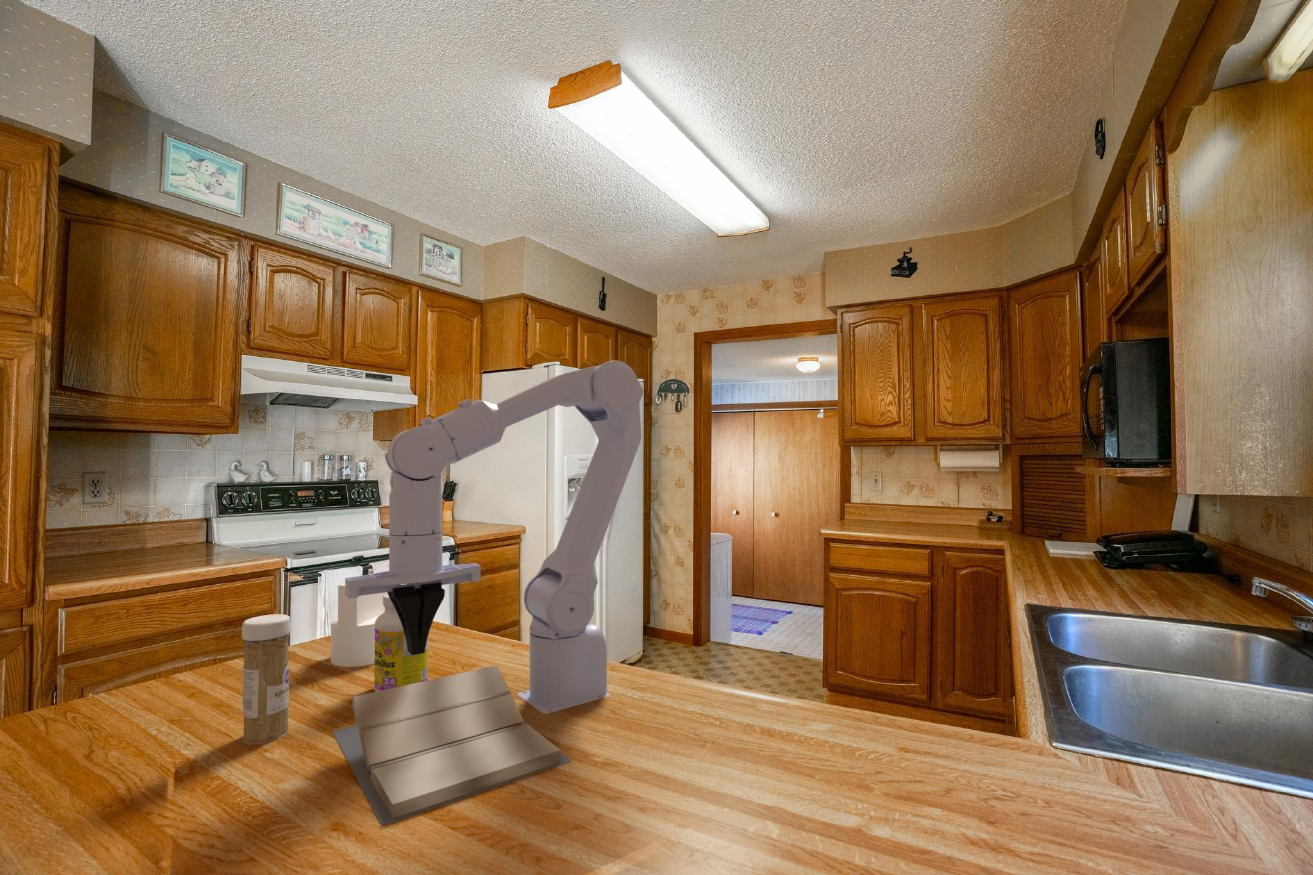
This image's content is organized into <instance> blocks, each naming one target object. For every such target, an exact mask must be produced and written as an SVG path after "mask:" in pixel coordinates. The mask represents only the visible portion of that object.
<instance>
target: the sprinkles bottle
mask: <svg viewBox="0 0 1313 875" xmlns="http://www.w3.org/2000/svg"><path fill="white" fill-rule="evenodd" d="M241 627H242V628H241V638H242V639H243V641H242V643H243V667H242V715H243V737H242V742H243V744H247V745H262V744H267V743H270V742H274V741H277V740H280V739H282V738H283V737H285V736H287V735H288V734H289V732H290V727H289V706H290V674H289V673H290V671H289V670H290V667H289V666H290V665H289V637H290V633H291V617H290V616H289V615H287V614H281V613H279V614H275V613H274V614H266V615H259V616H255V617H251V618H250V617H249V618H247V619H245V620H244V621H242V626H241Z"/></svg>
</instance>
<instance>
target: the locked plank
mask: <svg viewBox="0 0 1313 875" xmlns="http://www.w3.org/2000/svg"><path fill="white" fill-rule="evenodd" d="M560 752H561V749H560V748H558V747H557V746H556V745H555V744H554V743H552V742H551V741H550V740H549V739H547V738H546V737H544V736H543V735H542V734H541V733H540V732H538V731H537V730H536V729H535V728H533V727H532V726H531V725H529V723H528V722H524V723H523V724H519V725H516V726H512V727H509V728H505V729H502V730H498V731H495V732H491V733H488V734H484V735H481V736H477V737H474V738H470V739H467V740H463V741H460V742H456V743H453V744H449V745H446V746H442V747H439V748H435V749H432V750H428V751H425V752H421V753H418V754H414V755H411V756H407V757H404V758H400V759H397V760H393V761H390V762H386V763H383V764H379V765H376V766H372V767H371V781H372V783H373V785H374V787H375V788H376V790H377V792H378V794H379V795H380V797H381V799H382V801H383V802H384V804H385V806H386V808H387V810H388V811H389V813H390V815H391V817H392V818H396V817H399V816H402V815H405V814H408V813H411V812H414V811H417V810H420V809H423V808H426V807H429V806H432V805H435V804H438V803H441V802H444V801H447V800H450V799H452V798H455V797H458V796H461V795H464V794H467V793H470V792H473V791H476V790H479V789H482V788H485V787H488V786H491V785H494V784H497V783H500V782H503V781H506V780H509V779H512V778H515V777H518V776H520V775H523V774H526V773H529V772H532V771H535V770H538V769H541V768H544V767H547V766H550V765H553V764H556V763H559V762H560Z"/></svg>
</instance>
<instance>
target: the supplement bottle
mask: <svg viewBox="0 0 1313 875" xmlns="http://www.w3.org/2000/svg"><path fill="white" fill-rule="evenodd" d="M383 605H384V607H385V612H384V613H382V614H381V615H379V616H378V618H377V619H376V621H375V664H374V682H373V683H374V684H373V685H374V692H378V691H382V690H387V689H391V688H396V687H400V686H405V685H409V684H414V683H419V682H423V681H428V679H429V641H428V640H429V637H428V638H427V642H426V647H425V653H422V654H417V655H411V654H410V653H409V652H408V650H407V643H406V638H405V634H404V630H403V627H402V624H401V621H400V619H399V616H398V614H397V612H396V610H395V608H394V606H393V604H392V602H391V600H390V598H389V596H388V592H387V594H385V595H383Z"/></svg>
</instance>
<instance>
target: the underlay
mask: <svg viewBox="0 0 1313 875" xmlns="http://www.w3.org/2000/svg"><path fill="white" fill-rule="evenodd" d="M331 733H332V734H333V736H334V738H335V741H336V742H337V744H338V746H339V748H340V749H341V751H342V753H343V755H344V757H345V760H346V761H347V763H348V765H349V767H350V769H351V771H352V773H353V775H354V776H355V778H356V780H357V782H358V784H359V786H360V787H361V790H362V791H363V793H364V795H365V797H366V799H367V801H368V803H369V805H370V806H371V809H372V810H373V813H374V814H375V816H376V819H377V820H378V823H379V824H380V826H381V827H384V826H387V825H390V824H393V823H396V822H398V821H401V820H405V819H408V818H410V817H413V816H416V815H419V814H422V813H424V812H428V811H431V810H434V809H437V808H439V807H442V806H445V805H449V804H451V803H454V802H457V801H460V800H462V799H463V800H464V799H466V798H469V797H472V796H474V795H478V794H480V793H483V792H486V791H489V790H492V789H495V788H497V787H500V786H503V785H507V784H510V783H512V782H513V783H514V782H515V781H518V780H519V781H520V780H521V779H525V778H527V777H530V776H533V775H535V774H536V775H537V774H539V773H542V772H545V771H548V770H550V769H553V768H556V767H559V766H563V765H565V764H569V763H571V762H572V760H571V759H570V758H569V757H567V756H566V755H565V754H563V753H562V752H561V751H560V762H559V763H556V764H553V765H550V766H547V767H544V768H541V769H538V770H535V771H532V772H529V773H526V774H523V775H520V776H518V777H515V778H512V779H509V780H506V781H503V782H500V783H497V784H494V785H491V786H488V787H485V788H482V789H479V790H476V791H473V792H470V793H467V794H464V795H461V796H458V797H455V798H452V799H450V800H447V801H444V802H441V803H438V804H435V805H432V806H429V807H426V808H423V809H420V810H417V811H414V812H411V813H408V814H405V815H402V816H399V817H396V818H392V817H391V815H390V813H389V811H388V810H387V808H386V806H385V804H384V802H383V801H382V799H381V797H380V795H379V794H378V792H377V790H376V788H375V787H374V785H373V783H372V781H371V773H368V771H367V767H366V763H365V758H364V754H363V750H362V745H361V741H360V737H359V732H358V728H357V724H354V725H349V726H347V727H346V726H345V727H342V728H338V729H333V730H331Z"/></svg>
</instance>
